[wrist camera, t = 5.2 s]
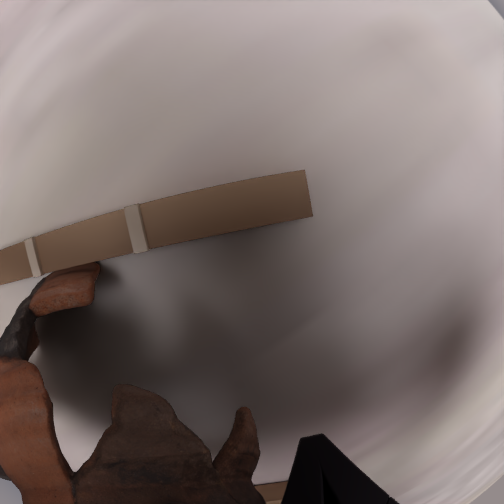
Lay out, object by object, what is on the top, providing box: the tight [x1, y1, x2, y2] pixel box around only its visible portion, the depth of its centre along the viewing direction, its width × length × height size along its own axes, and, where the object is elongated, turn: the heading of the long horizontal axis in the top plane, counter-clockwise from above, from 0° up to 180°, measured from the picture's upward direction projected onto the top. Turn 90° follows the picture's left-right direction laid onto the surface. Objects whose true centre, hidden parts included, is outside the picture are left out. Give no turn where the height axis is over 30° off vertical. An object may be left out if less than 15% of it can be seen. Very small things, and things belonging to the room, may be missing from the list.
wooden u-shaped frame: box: [0, 170, 313, 504], centre depth 8 cm, size 21×25×3 cm
